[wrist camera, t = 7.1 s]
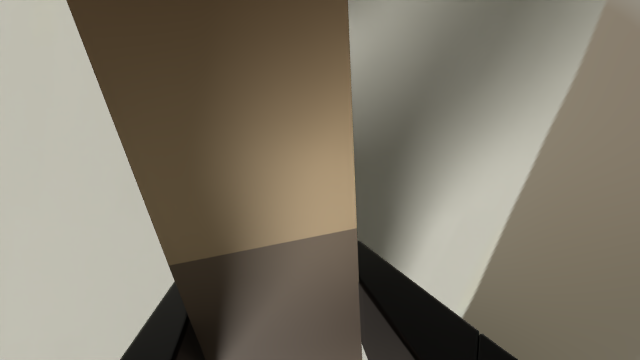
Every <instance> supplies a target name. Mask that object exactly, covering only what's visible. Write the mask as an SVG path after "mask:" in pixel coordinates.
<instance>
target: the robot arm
mask: <svg viewBox="0 0 640 360" xmlns="http://www.w3.org/2000/svg"><path fill="white" fill-rule="evenodd" d="M357 245H358V270H359V282H358V287H359V307H360V327H361V342H362V345H363V348H364V350H365V353H366V356H367V358H368V360H518V359H516V358H515V357H513V356H512V355H511V354H509V353H508V352H507V351H505V350H504V349H502V348H501V347H500V346H498V345H497V344H496V343H494V342H493V341H492V340H490V339H489V338H488V337H486V336H485V335H484V334H480V335H479V331H478V330H476V329H475V328H474V327H473V326H471V325H470V324H469V323H467V322H466V321H465V320H463V319H462V318H461V317H460V316H458V315H457V314H456V313H454V312H453V311H452V310H450V309H449V308H448V307H446V306H445V305H444V304H442V303H441V302H440V301H438V300H437V299H436V298H434V297H433V296H432V295H430V294H429V293H428V292H426V291H425V290H424V289H422V288H421V287H420V286H418V285H417V284H416V283H415V282H413V281H412V280H411V279H409V278H408V277H407V276H405V275H404V274H403V273H401V272H400V271H399V270H397V269H396V268H395V267H393V266H392V265H391V264H389V263H388V262H387V261H385V260H384V259H383V258H381V257H380V256H379V255H377V254H376V253H375V252H373V251H372V250H371V249H370V248H368V247H367V246H366V245H364V244H363V243H362V242H360V241H357ZM120 360H206V359H205V357H204V354H203V352H202V349H201V347H200V344H199V341H198V339H197V336H196V334H195V331H194V329H193V326H192V324H191V321H190V319H189V317H188V314H187V311H186V309H185V306H184V304H183V301H182V298H181V296H180V293H179V291H178V288H177V285H176V283H175V282H174V283H173V285H172V286H171V287H170V289H169V290H168V292H167V293H166V295H165V296H164V297H163V299H162V300H161V302H160V303H159V305H158V306H157V307H156V309H155V310H154V312H153V313H152V315H151V316H150V318H149V319H148V320H147V322H146V323H145V325H144V326H143V328H142V329H141V330H140V332H139V333H138V335H137V336H136V338H135V339H134V340H133V342H132V343H131V345H130V346H129V348H128V349H127V351H126V352H125V353H124V355H123V356H122V358H121V359H120Z"/></svg>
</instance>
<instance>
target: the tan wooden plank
mask: <svg viewBox="0 0 640 360" xmlns="http://www.w3.org/2000/svg"><path fill="white" fill-rule="evenodd" d="M67 3H68V5H69V8H70V11H71V13H72V16H73V18H74V21H75V24H76V26H77V29H78V31H79V34H80V37H81V39H82V42H83V44H84V47H85V50H86V52H87V55H88V57H89V60H90V62H91V65H92V68H93V70H94V73H95V75H96V78H97V81H98V83H99V86H100V88H101V91H102V94H103V96H104V99H105V101H106V104H107V107H108V109H109V112H110V114H111V117H112V120H113V122H114V125H115V127H116V130H117V132H118V135H119V138H120V140H121V143H122V145H123V148H124V151H125V153H126V156H127V158H128V161H129V164H130V166H131V169H132V171H133V174H134V177H135V179H136V182H137V184H138V187H139V190H140V192H141V195H142V197H143V200H144V202H145V205H146V208H147V210H148V213H149V215H150V218H151V221H152V223H153V226H154V228H155V231H156V234H157V236H158V239H159V241H160V244H161V247H162V249H163V252H164V254H165V257H166V259H167V262H168V265H169V267H170V270H171V272H172V275H173V278H174V280H175V283H176V285H177V288H178V291H179V293H180V296H181V298H182V301H183V304H184V306H185V309H186V311H187V314H188V317H189V319H190V321H191V324H192V326H193V329H194V331H195V334H196V336H197V339H198V341H199V344H200V347H201V349H202V352H203V354H204V357H205V359H206V360H362V346H361V327H360V307H359V287H358V282H359V270H358V245H357V220H356V195H355V170H354V145H353V120H352V94H351V69H350V44H349V19H348V0H67Z"/></svg>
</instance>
